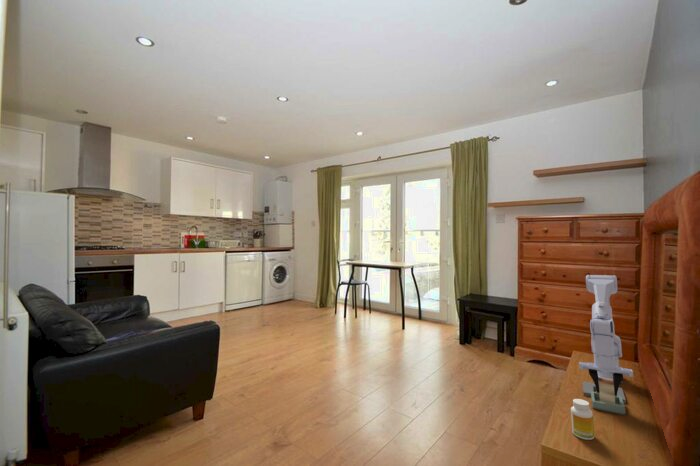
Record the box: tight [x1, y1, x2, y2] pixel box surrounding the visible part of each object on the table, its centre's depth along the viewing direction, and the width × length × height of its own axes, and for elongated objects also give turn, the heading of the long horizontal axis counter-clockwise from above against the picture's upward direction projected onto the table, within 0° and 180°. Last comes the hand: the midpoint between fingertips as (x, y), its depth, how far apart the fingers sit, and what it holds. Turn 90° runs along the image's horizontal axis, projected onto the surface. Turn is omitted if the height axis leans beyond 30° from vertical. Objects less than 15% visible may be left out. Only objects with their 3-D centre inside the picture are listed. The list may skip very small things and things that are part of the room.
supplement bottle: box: [570, 398, 595, 441], centre depth 95 cm, size 5×5×10 cm
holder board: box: [582, 380, 627, 404], centre depth 119 cm, size 11×12×1 cm
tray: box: [590, 391, 626, 416], centre depth 110 cm, size 9×9×2 cm
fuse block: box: [598, 377, 615, 404], centre depth 110 cm, size 4×4×7 cm
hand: (606, 393), depth 110 cm, fingers closed on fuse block, 4 cm apart
